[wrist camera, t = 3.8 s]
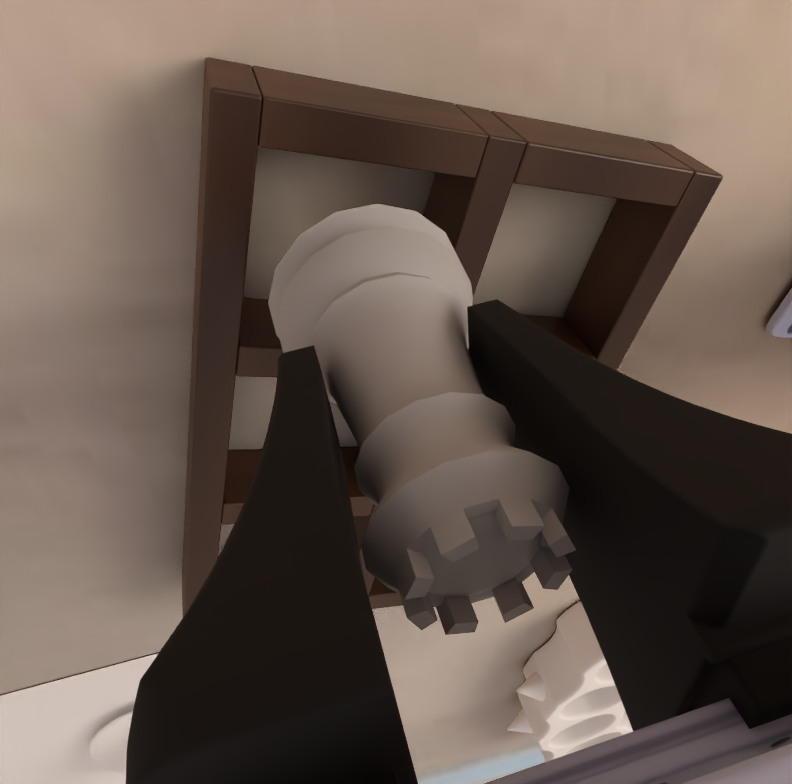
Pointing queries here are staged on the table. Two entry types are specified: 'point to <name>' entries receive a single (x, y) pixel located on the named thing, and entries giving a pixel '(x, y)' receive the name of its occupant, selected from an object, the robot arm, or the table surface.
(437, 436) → the rook chess piece
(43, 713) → the cream piece
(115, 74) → the table surface
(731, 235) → the table surface
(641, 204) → the rack
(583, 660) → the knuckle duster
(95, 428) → the table surface
